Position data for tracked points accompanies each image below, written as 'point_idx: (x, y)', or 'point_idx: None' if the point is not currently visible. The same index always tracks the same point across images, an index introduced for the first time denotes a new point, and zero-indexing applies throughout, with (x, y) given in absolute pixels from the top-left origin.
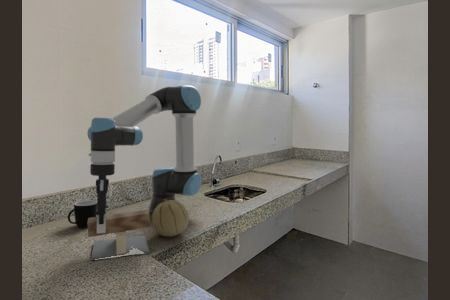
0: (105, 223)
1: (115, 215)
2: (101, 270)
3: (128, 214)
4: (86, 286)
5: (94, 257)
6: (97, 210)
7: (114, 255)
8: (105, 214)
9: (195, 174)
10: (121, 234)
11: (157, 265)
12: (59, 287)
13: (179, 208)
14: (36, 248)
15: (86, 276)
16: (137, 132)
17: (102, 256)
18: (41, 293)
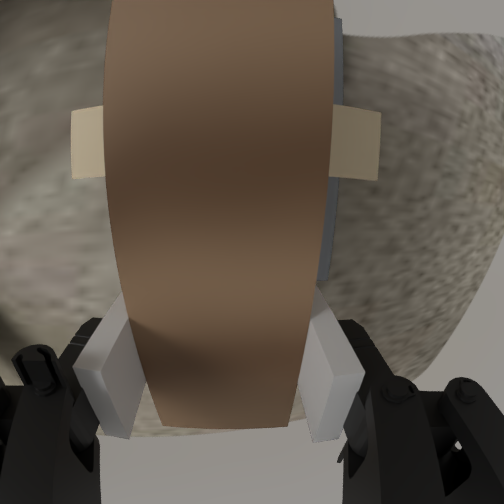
0: (326, 303)
1: (173, 208)
2: (410, 233)
3: (225, 18)
4: (463, 270)
5: (324, 268)
6: (454, 462)
7: (338, 178)
8: (362, 370)
9: None
10: (347, 141)
11: (440, 42)
12: (431, 332)
13: None
14: (145, 424)
15: (421, 277)
16: None
17: (330, 234)
18: (430, 358)
